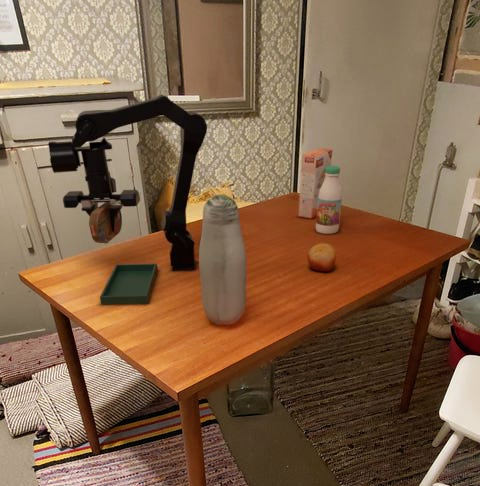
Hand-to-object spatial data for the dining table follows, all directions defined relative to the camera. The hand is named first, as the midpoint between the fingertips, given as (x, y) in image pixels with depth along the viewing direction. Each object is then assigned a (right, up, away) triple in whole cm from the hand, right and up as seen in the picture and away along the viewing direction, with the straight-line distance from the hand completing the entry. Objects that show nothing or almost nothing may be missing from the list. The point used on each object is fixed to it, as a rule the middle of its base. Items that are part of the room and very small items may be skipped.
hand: (108, 232), depth 132 cm
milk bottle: (+65, +12, +34) cm, 74 cm away
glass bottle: (+32, -27, -17) cm, 45 cm away
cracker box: (+63, +23, +50) cm, 84 cm away
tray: (+6, -15, 0) cm, 16 cm away
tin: (0, -1, +1) cm, 2 cm away
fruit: (+58, -8, +8) cm, 59 cm away
